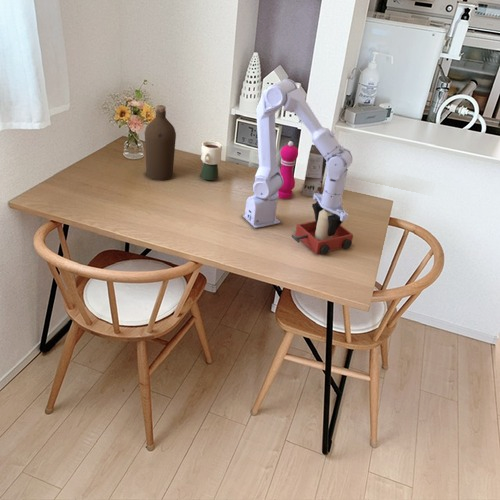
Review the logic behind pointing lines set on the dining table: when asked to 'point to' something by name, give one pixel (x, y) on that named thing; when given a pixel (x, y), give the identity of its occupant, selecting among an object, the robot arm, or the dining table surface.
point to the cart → (316, 245)
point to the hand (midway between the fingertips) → (325, 230)
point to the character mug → (210, 159)
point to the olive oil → (160, 146)
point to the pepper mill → (287, 170)
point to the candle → (323, 226)
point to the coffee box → (314, 172)
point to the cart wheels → (325, 247)
